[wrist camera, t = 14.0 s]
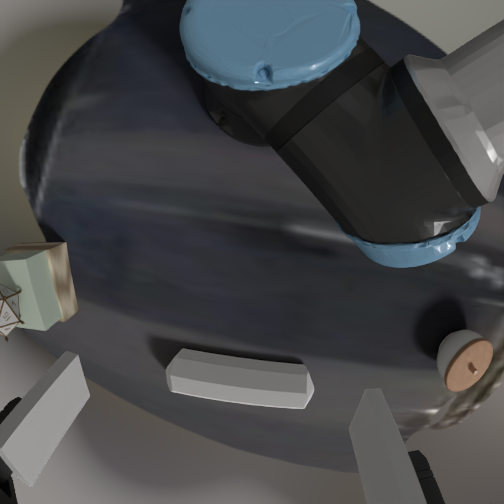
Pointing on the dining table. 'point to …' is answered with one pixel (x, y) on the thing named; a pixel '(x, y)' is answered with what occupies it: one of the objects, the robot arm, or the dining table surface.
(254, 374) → the chamfered grey bar
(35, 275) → the tower top block
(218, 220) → the dining table surface
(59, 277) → the tower base block
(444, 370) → the lidded jar
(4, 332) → the game die
